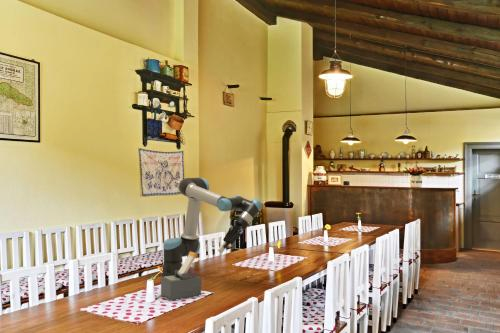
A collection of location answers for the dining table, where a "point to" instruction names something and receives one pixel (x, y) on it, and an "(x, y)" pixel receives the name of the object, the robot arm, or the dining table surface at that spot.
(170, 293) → the box
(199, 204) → the robot arm
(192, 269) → the vegetable
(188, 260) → the lever
